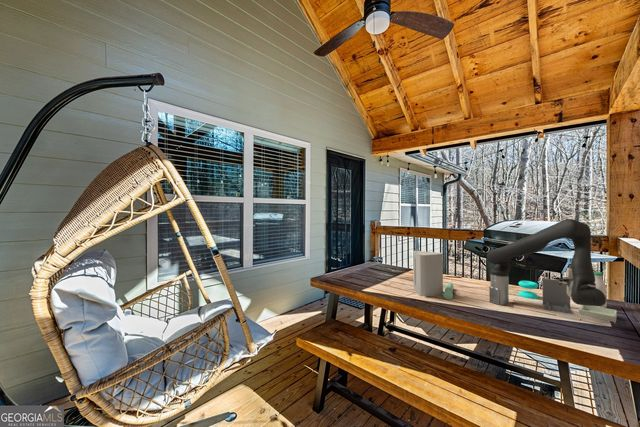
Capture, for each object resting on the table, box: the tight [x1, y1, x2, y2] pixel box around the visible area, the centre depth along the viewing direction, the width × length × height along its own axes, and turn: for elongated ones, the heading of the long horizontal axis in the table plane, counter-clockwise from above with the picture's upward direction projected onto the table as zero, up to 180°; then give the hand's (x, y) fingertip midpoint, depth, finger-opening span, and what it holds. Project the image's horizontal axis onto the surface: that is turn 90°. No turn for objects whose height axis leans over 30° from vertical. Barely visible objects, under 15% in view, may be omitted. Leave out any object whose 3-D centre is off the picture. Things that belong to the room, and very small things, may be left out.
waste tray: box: [578, 305, 618, 324], centre depth 141 cm, size 13×13×4 cm
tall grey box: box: [412, 250, 444, 297], centre depth 182 cm, size 19×15×28 cm
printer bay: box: [542, 277, 575, 315], centre depth 150 cm, size 12×12×16 cm
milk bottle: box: [593, 270, 608, 308], centre depth 154 cm, size 8×8×20 cm
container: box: [443, 282, 454, 300], centre depth 183 cm, size 6×6×25 cm
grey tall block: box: [566, 264, 573, 298], centre depth 139 cm, size 6×5×16 cm
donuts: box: [518, 280, 539, 300], centre depth 171 cm, size 10×10×10 cm
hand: (573, 279), depth 141 cm, fingers closed on grey tall block, 5 cm apart
